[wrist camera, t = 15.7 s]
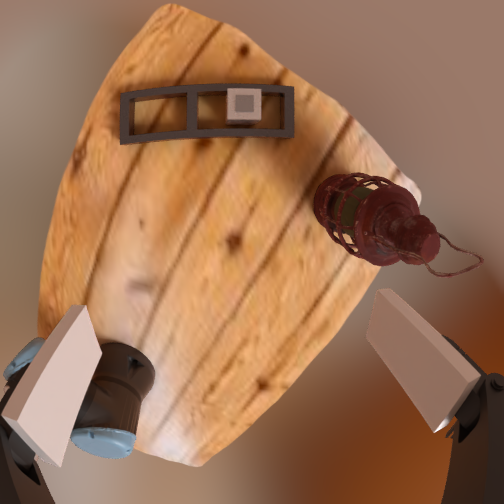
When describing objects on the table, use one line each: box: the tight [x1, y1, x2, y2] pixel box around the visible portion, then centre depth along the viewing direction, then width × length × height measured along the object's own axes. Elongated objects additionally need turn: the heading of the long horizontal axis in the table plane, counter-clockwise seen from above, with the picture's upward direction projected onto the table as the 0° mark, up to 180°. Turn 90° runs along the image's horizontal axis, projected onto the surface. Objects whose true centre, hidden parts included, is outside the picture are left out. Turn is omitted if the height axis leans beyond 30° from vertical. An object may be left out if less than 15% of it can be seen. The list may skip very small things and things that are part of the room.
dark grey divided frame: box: [120, 84, 294, 145], centre depth 37 cm, size 26×8×3 cm, turn 90°
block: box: [226, 88, 261, 125], centre depth 36 cm, size 4×4×7 cm
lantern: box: [314, 172, 483, 278], centre depth 32 cm, size 12×12×30 cm
